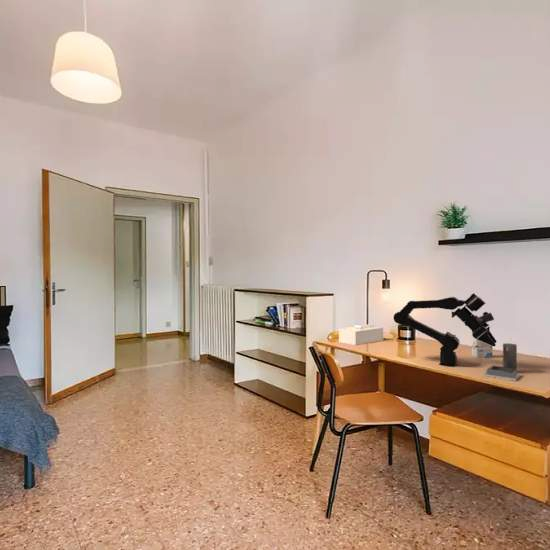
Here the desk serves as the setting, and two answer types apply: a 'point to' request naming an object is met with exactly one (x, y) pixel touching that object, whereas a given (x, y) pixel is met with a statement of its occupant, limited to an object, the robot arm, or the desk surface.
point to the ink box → (481, 349)
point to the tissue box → (361, 334)
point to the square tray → (502, 372)
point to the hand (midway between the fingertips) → (495, 344)
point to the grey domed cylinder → (510, 355)
